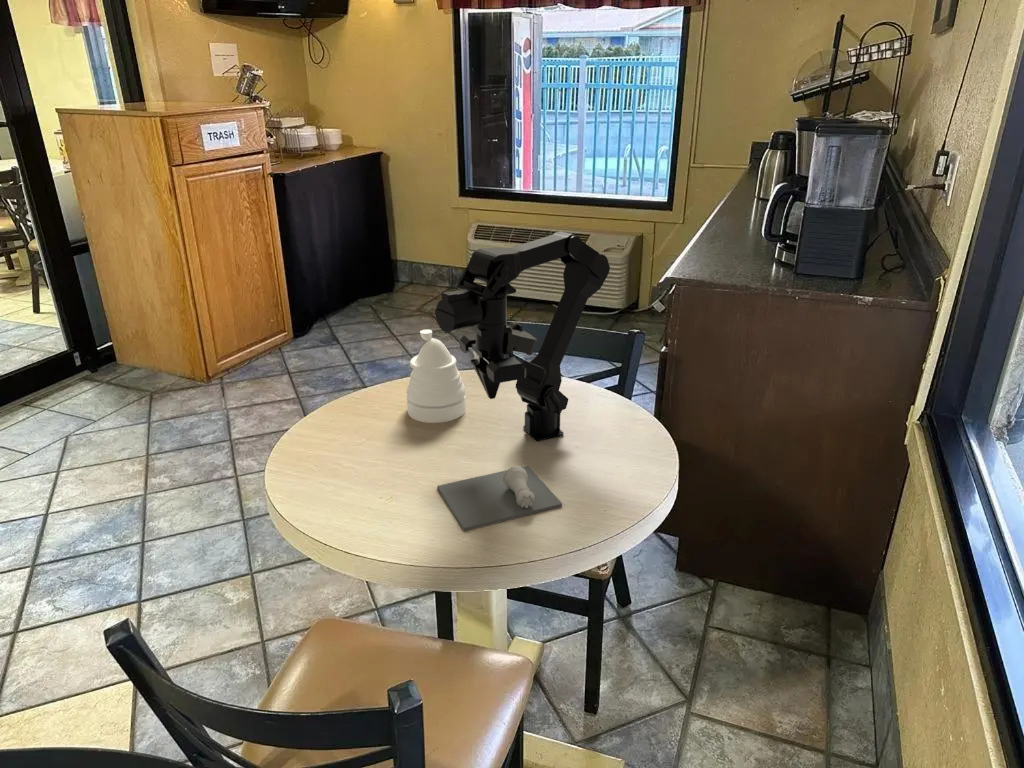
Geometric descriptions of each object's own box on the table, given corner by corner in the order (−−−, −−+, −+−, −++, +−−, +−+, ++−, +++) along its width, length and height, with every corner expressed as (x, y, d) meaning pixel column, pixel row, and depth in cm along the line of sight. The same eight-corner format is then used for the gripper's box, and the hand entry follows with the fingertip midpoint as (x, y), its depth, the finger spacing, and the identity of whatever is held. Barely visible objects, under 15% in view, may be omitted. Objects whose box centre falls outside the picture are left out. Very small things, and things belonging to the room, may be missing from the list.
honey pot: (395, 413, 157) (389, 336, 150) (433, 392, 167) (429, 319, 159) (440, 428, 150) (436, 348, 143) (477, 406, 160) (475, 330, 153)
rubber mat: (528, 468, 136) (528, 465, 135) (561, 506, 124) (562, 503, 124) (437, 488, 129) (437, 485, 129) (464, 531, 117) (463, 528, 117)
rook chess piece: (497, 474, 127) (509, 502, 120) (517, 460, 126) (531, 487, 120) (510, 489, 129) (523, 517, 122) (530, 475, 129) (544, 502, 122)
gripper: (553, 330, 125) (551, 410, 131) (511, 300, 140) (511, 373, 147) (494, 338, 121) (495, 421, 127) (457, 307, 136) (459, 382, 143)
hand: (491, 398), depth 136 cm, fingers closed
